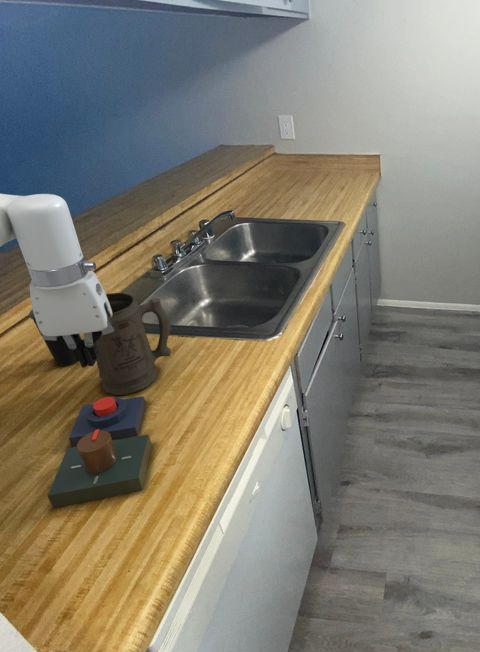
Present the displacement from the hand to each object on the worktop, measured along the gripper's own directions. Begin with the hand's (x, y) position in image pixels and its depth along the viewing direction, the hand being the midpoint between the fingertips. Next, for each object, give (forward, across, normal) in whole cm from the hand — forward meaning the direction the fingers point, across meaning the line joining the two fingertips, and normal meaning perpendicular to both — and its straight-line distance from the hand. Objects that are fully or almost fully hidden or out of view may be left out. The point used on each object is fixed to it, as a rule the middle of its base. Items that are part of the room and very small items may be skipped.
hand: (90, 362), depth 85 cm
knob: (+12, -2, +13) cm, 18 cm away
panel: (+15, -2, +13) cm, 20 cm away
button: (+12, 0, 0) cm, 12 cm away
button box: (+15, 0, 0) cm, 15 cm away
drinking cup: (+15, +14, -25) cm, 32 cm away
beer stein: (+15, -3, -15) cm, 22 cm away
